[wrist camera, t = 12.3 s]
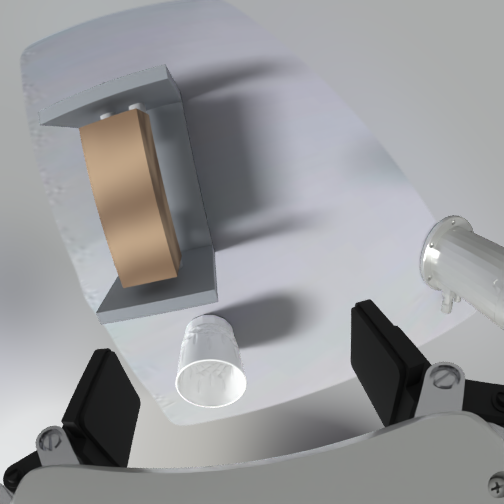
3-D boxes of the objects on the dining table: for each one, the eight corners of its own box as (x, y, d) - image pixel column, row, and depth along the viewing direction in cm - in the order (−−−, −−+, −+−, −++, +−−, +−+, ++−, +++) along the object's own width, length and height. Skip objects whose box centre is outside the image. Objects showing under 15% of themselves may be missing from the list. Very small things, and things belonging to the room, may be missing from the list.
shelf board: (99, 130, 24) (78, 128, 19) (148, 114, 24) (136, 108, 19) (135, 266, 29) (123, 288, 24) (181, 255, 29) (177, 276, 24)
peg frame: (214, 252, 36) (218, 301, 25) (129, 271, 35) (101, 324, 24) (180, 92, 29) (165, 64, 18) (89, 119, 28) (38, 111, 17)
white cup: (230, 359, 42) (237, 410, 32) (176, 351, 40) (172, 402, 31) (244, 315, 39) (255, 364, 30) (185, 305, 38) (180, 353, 28)
